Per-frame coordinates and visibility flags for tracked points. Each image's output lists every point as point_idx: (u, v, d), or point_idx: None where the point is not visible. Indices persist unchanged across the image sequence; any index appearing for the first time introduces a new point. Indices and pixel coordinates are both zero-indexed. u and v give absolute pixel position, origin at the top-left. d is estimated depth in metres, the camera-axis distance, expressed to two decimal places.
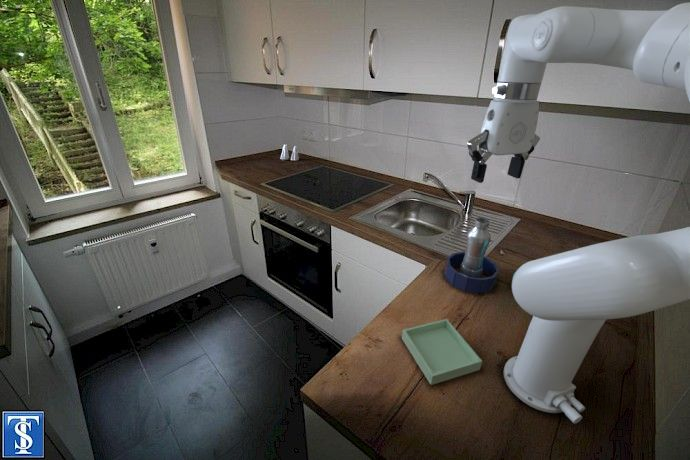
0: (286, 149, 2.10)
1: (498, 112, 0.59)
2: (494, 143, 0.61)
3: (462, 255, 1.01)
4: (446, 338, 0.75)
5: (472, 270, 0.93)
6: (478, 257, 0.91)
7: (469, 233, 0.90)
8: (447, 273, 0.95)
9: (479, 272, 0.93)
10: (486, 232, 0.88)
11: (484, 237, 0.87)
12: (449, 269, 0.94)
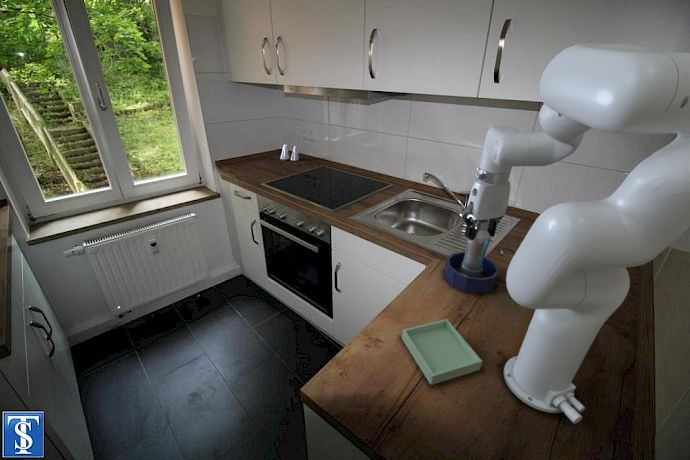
0: (286, 149, 2.10)
1: (479, 192, 0.81)
2: (477, 212, 0.83)
3: (462, 255, 1.01)
4: (446, 338, 0.75)
5: (472, 270, 0.93)
6: (478, 257, 0.91)
7: None
8: (447, 273, 0.95)
9: (479, 272, 0.93)
10: (486, 232, 0.88)
11: (484, 237, 0.87)
12: (449, 269, 0.94)
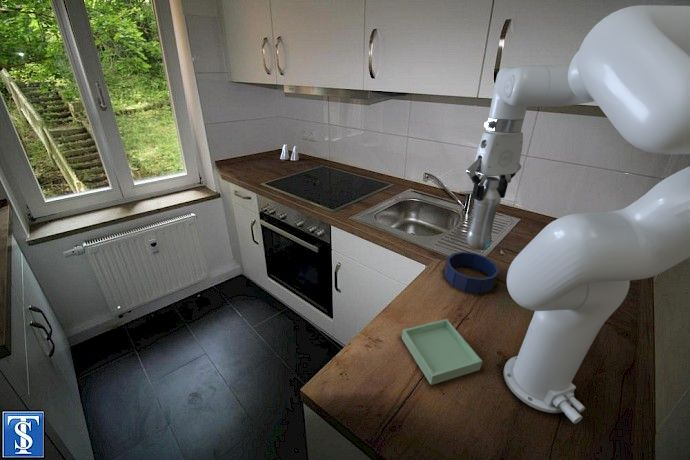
0: (286, 149, 2.10)
1: (489, 142, 0.72)
2: (486, 166, 0.74)
3: (462, 255, 1.01)
4: (446, 338, 0.75)
5: (480, 236, 0.84)
6: (487, 221, 0.82)
7: None
8: (447, 273, 0.95)
9: (488, 238, 0.84)
10: (496, 192, 0.79)
11: (493, 196, 0.79)
12: (449, 269, 0.94)
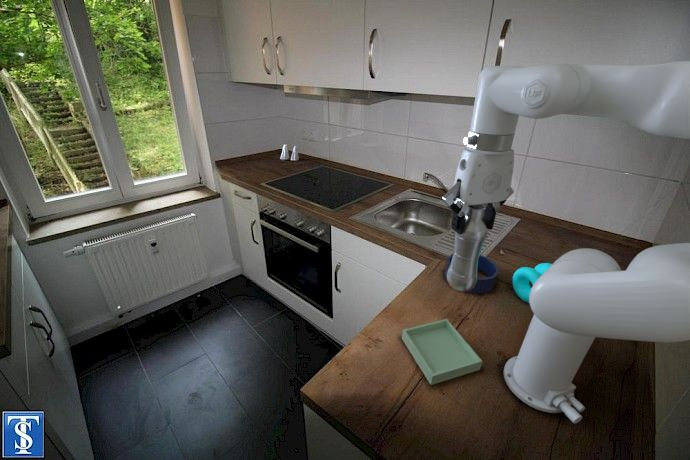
0: (286, 149, 2.10)
1: (469, 163, 0.56)
2: (466, 194, 0.58)
3: None
4: (446, 338, 0.75)
5: (462, 275, 0.68)
6: (470, 258, 0.66)
7: None
8: None
9: (472, 278, 0.68)
10: (481, 223, 0.63)
11: (477, 229, 0.63)
12: None
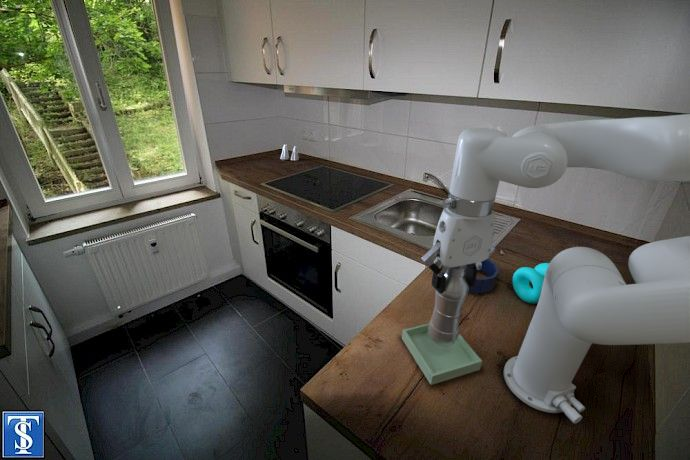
0: (286, 149, 2.10)
1: (449, 227, 0.53)
2: (446, 257, 0.55)
3: None
4: None
5: (444, 332, 0.65)
6: (451, 315, 0.63)
7: None
8: None
9: (454, 335, 0.65)
10: (462, 282, 0.60)
11: (458, 288, 0.60)
12: None
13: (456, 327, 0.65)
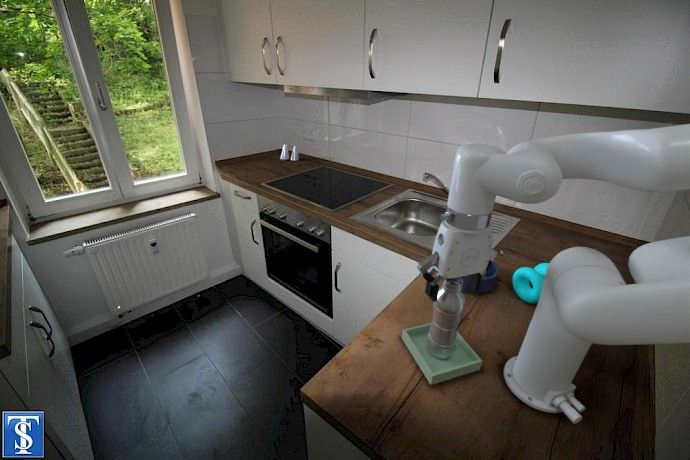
0: (286, 149, 2.10)
1: (447, 240, 0.54)
2: (444, 269, 0.56)
3: None
4: None
5: (441, 345, 0.67)
6: (449, 329, 0.65)
7: None
8: None
9: (451, 347, 0.67)
10: (459, 297, 0.62)
11: (455, 303, 0.62)
12: None
13: (453, 340, 0.67)
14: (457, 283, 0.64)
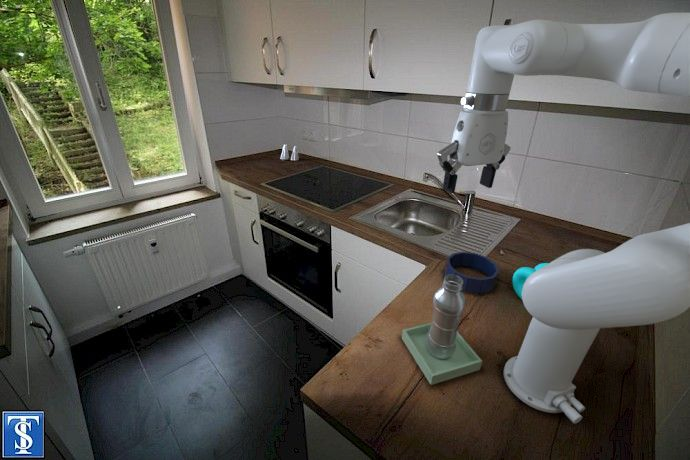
0: (286, 149, 2.10)
1: (467, 123, 0.58)
2: (464, 154, 0.60)
3: (462, 255, 1.01)
4: None
5: (441, 345, 0.67)
6: (449, 329, 0.65)
7: (436, 296, 0.64)
8: (447, 273, 0.95)
9: (451, 347, 0.67)
10: (459, 297, 0.62)
11: (455, 303, 0.62)
12: (449, 269, 0.94)
13: (453, 340, 0.67)
14: (457, 283, 0.64)
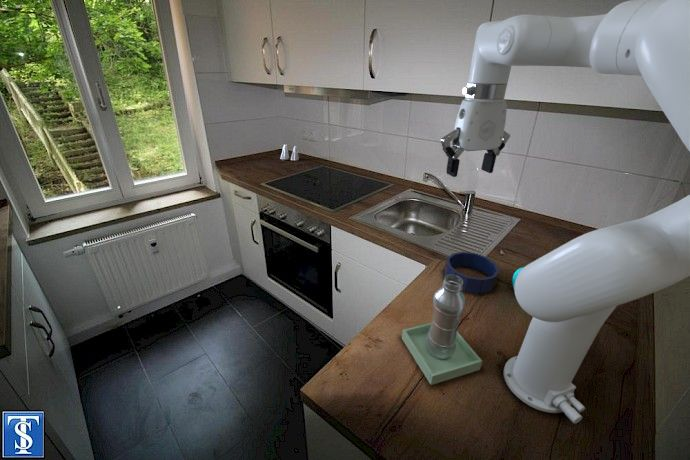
0: (286, 149, 2.10)
1: (468, 111, 0.64)
2: (465, 140, 0.65)
3: (462, 255, 1.01)
4: None
5: (441, 345, 0.67)
6: (449, 329, 0.65)
7: (436, 296, 0.64)
8: (447, 273, 0.95)
9: (451, 347, 0.67)
10: (459, 297, 0.62)
11: (455, 303, 0.62)
12: (449, 269, 0.94)
13: (453, 340, 0.67)
14: (457, 283, 0.64)
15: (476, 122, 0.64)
